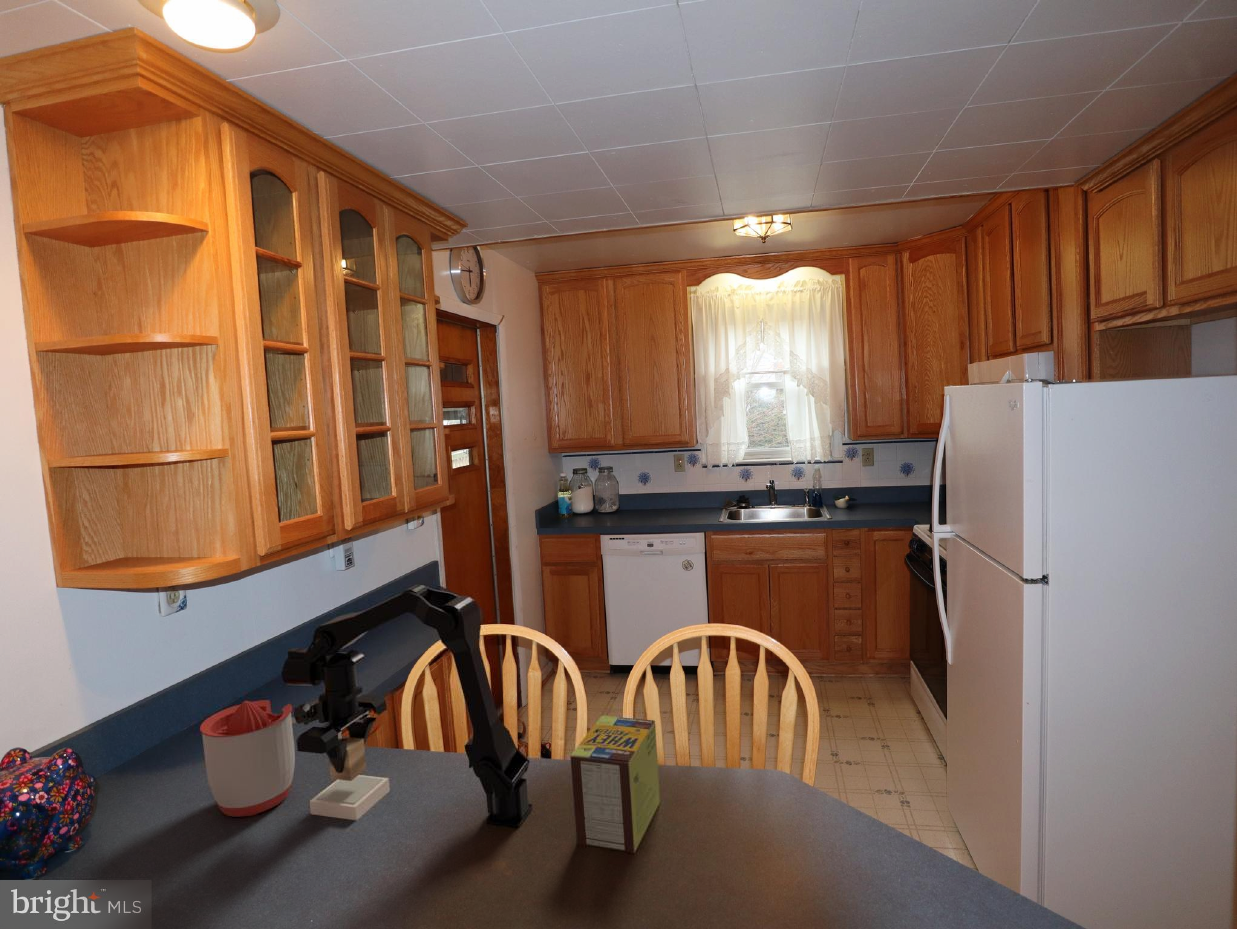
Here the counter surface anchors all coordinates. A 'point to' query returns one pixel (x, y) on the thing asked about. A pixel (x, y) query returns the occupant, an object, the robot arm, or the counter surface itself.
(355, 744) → the oak block
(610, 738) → the protein box
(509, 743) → the robot arm
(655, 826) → the counter surface
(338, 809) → the tile base
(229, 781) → the citrus juicer
